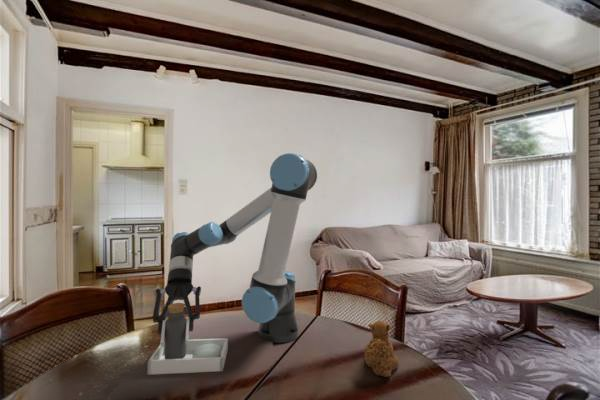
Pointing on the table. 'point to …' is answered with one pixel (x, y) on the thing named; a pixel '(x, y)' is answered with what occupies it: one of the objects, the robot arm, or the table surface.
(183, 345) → the bottle
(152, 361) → the tray
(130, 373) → the table surface
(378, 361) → the brown fuzzy plush figure
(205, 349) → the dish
